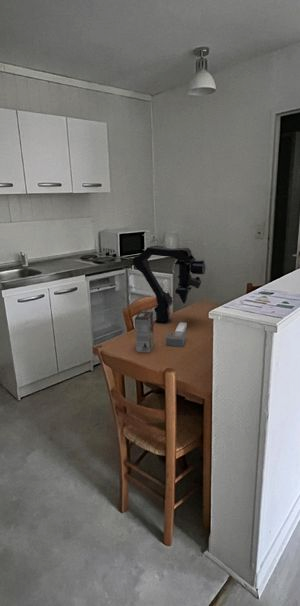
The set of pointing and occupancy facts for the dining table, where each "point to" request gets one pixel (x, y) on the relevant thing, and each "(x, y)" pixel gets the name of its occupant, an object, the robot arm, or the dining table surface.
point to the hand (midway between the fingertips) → (184, 302)
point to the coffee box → (144, 331)
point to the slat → (180, 329)
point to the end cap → (175, 340)
